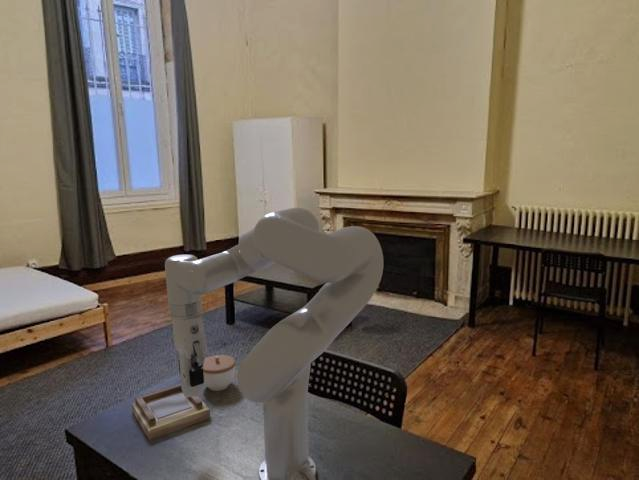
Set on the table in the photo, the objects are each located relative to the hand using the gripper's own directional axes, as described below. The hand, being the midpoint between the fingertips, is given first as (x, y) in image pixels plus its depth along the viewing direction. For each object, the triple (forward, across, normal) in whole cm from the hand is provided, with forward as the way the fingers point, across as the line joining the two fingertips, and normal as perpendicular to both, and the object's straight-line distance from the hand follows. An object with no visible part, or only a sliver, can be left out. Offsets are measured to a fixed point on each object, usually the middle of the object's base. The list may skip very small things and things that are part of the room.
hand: (191, 378), depth 110 cm
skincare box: (+3, 0, 0) cm, 3 cm away
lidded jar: (+17, +23, -16) cm, 32 cm away
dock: (+16, +16, +1) cm, 23 cm away
